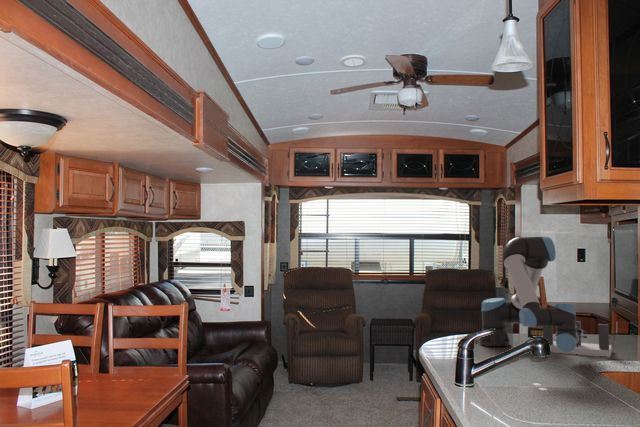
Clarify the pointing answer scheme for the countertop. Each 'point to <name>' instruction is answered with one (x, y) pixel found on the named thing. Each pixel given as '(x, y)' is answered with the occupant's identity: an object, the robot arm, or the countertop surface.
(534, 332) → the ammunition clip
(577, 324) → the dark grey upright block
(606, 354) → the three peg stand
